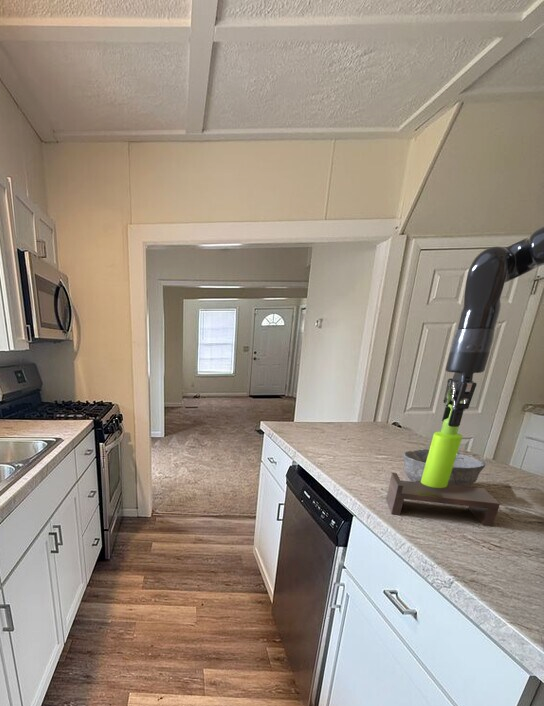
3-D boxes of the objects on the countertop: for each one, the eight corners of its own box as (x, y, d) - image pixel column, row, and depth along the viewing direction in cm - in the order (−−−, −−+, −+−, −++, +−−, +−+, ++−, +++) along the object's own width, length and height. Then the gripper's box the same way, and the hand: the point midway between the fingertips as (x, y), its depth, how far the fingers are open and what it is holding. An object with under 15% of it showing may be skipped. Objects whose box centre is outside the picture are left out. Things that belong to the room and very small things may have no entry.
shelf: (476, 509, 108) (486, 481, 105) (492, 526, 98) (502, 495, 95) (385, 499, 116) (391, 472, 113) (391, 514, 106) (398, 485, 102)
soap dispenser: (444, 479, 107) (467, 403, 98) (449, 489, 101) (473, 409, 92) (419, 477, 109) (439, 402, 100) (422, 486, 103) (443, 408, 95)
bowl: (479, 506, 110) (490, 471, 107) (394, 493, 120) (402, 460, 117) (472, 485, 127) (482, 454, 123) (398, 475, 137) (405, 446, 133)
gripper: (501, 350, 85) (477, 430, 91) (479, 350, 97) (459, 420, 104) (459, 350, 87) (439, 428, 94) (443, 350, 100) (426, 418, 106)
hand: (450, 423), depth 99 cm, fingers closed on soap dispenser, 5 cm apart
